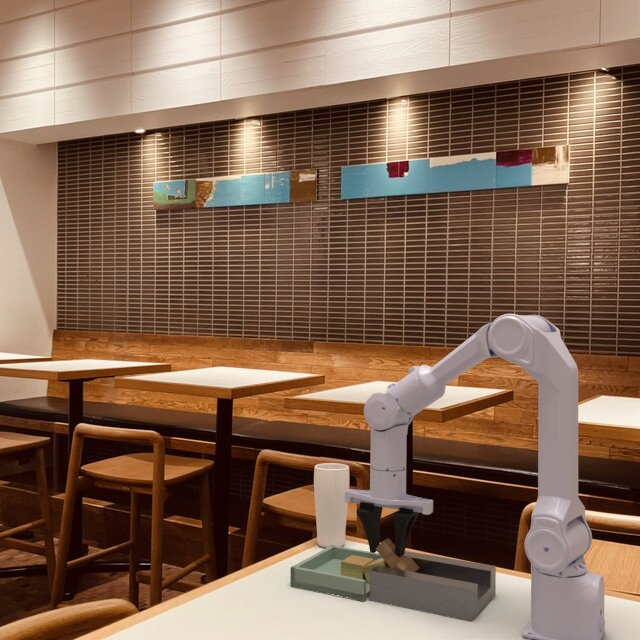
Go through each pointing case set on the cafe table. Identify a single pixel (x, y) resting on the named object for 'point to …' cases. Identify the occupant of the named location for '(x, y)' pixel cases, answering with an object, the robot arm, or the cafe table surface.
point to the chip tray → (331, 573)
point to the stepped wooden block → (395, 557)
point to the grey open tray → (436, 586)
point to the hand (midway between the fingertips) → (387, 553)
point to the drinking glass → (331, 503)
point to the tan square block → (371, 565)
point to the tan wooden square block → (354, 566)
